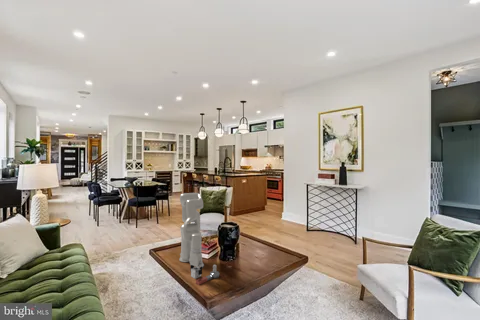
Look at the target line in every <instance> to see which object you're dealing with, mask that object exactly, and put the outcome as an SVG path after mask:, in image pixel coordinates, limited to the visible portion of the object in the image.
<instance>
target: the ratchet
mask: <svg viewBox="0 0 480 320" xmlns="http://www.w3.org/2000/svg"><path fill="white" fill-rule="evenodd" d="M219 277H220V272H219V271H217V265H216V264H212V271H210V272H209V275H206V276H201V277H199V278H197V279H195V284H196V285H198V286H200V285H202V284H204V283H206V282H209V280H210V281H211V280H212V279H218V278H219Z"/></svg>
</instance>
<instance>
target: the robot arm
mask: <svg viewBox="0 0 480 320" xmlns="http://www.w3.org/2000/svg"><path fill="white" fill-rule="evenodd" d="M179 200H180V201H179V202H180V205H181V220H182V222H183V224H182V225H181V226H180V229H179V231H180V237H181V238H180V239H181V241H180V244H181V245H180V246H181V247H180V249H181V250H180V253H179V255H180V257H179V260H178V261H179V262H182V263H189V266H190V272H191V268H194V267H198V268H199V270H198V275H201V276H202V275H203V268H204V266H205V264H204V262H203V253H202V232H201V213H200V211H198V210H200V209H203V208H204V201H203V198H202V195H201V193H199V192H189V193H187V192H183V193H181V194H180V195H179Z"/></svg>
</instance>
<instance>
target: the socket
mask: <svg viewBox="0 0 480 320" xmlns="http://www.w3.org/2000/svg"><path fill="white" fill-rule="evenodd" d="M198 270H199V268H198V267H195V266H194V268H191V271H190V277H191V278H193V279H195V280H197V279H199V278H202V274H201V275H198Z"/></svg>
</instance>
